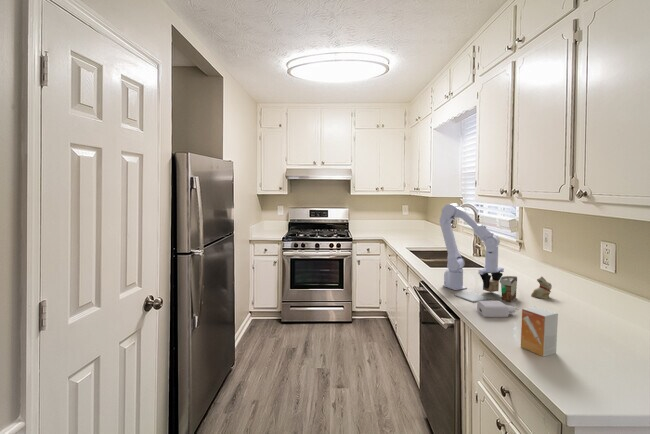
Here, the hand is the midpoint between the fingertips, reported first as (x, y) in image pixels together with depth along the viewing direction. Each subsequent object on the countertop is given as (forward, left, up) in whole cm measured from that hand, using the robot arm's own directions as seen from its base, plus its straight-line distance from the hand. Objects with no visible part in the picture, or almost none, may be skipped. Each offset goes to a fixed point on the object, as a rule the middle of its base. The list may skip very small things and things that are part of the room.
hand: (490, 287), depth 185 cm
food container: (+10, -1, -3) cm, 11 cm away
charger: (+24, -21, -3) cm, 32 cm away
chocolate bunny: (+14, +17, -3) cm, 23 cm away
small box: (+55, -38, -3) cm, 67 cm away
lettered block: (0, 0, -2) cm, 2 cm away
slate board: (+2, -14, -3) cm, 14 cm away
